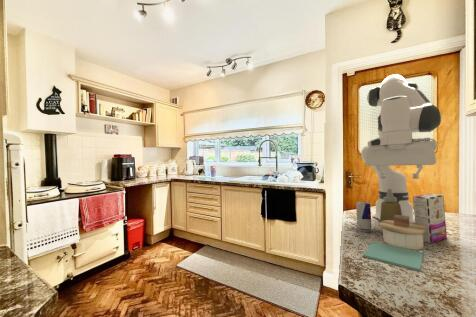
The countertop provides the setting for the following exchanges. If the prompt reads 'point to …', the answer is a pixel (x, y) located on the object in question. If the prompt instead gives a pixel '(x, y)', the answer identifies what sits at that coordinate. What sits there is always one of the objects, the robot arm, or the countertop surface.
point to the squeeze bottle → (389, 207)
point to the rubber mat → (395, 255)
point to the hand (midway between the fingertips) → (398, 178)
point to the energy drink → (363, 216)
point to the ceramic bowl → (403, 240)
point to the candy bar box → (431, 216)
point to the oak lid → (403, 226)
